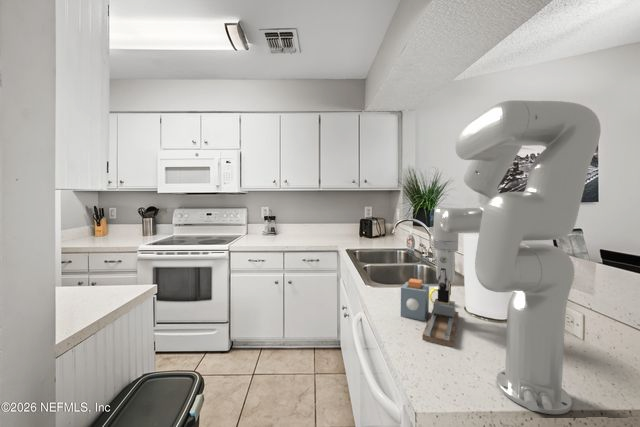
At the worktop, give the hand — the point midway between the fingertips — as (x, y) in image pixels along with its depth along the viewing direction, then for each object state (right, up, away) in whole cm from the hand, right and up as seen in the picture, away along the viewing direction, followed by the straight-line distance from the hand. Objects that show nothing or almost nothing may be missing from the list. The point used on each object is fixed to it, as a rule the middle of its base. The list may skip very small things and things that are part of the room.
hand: (444, 297), depth 94 cm
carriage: (0, -5, 0) cm, 5 cm away
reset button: (-8, +2, +5) cm, 10 cm away
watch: (+4, -7, +16) cm, 18 cm away
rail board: (-3, -8, -4) cm, 9 cm away
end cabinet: (-8, -7, +6) cm, 12 cm away
